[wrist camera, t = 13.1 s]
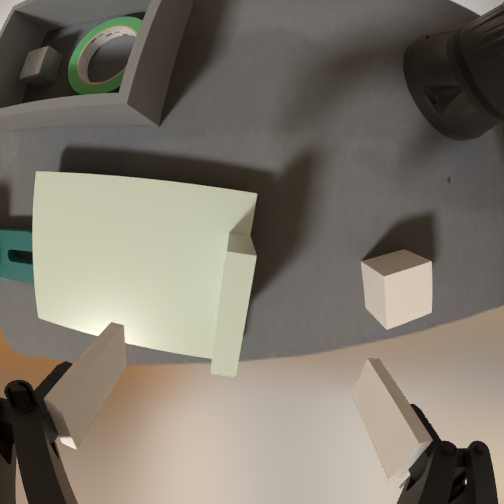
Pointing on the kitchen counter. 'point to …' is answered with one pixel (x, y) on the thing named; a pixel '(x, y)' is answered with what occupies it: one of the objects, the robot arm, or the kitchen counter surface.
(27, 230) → the bracket
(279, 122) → the kitchen counter surface
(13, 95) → the tub
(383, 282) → the white cube
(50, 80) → the steel block
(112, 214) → the pale green l-shaped plate
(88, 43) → the tape roll
